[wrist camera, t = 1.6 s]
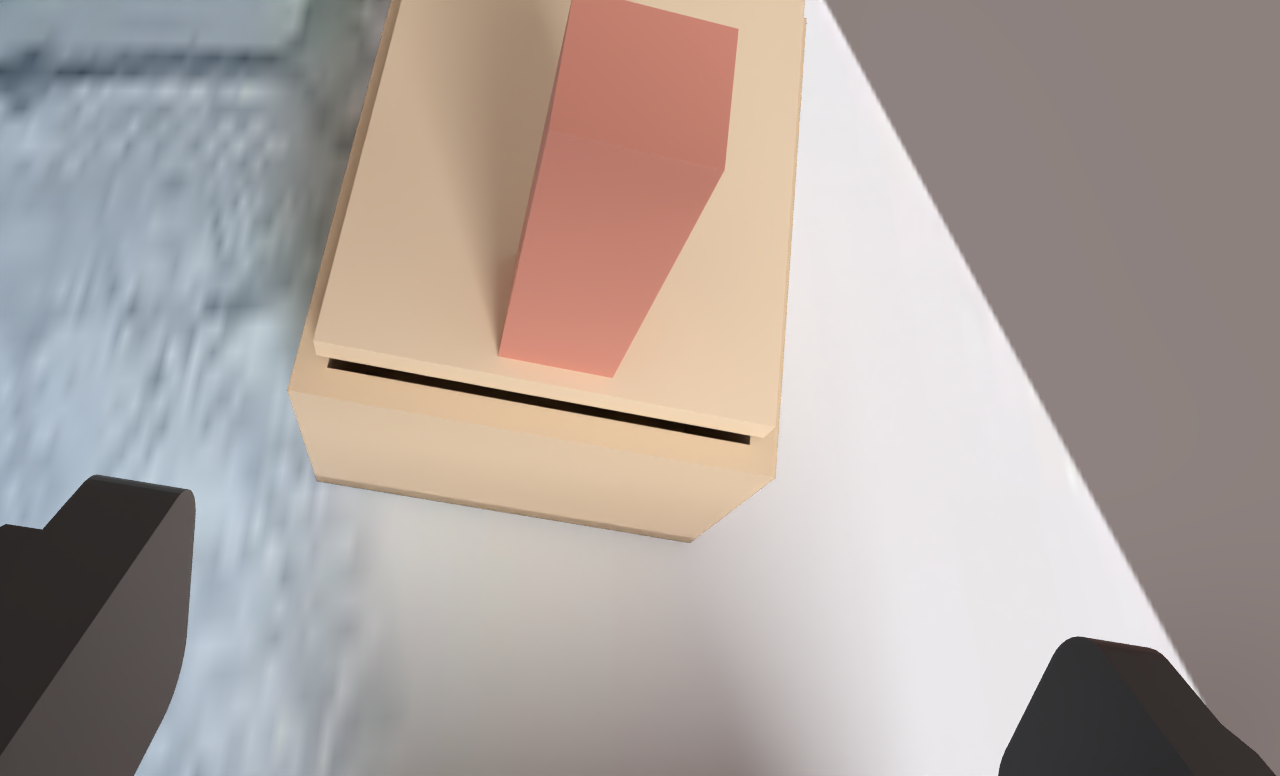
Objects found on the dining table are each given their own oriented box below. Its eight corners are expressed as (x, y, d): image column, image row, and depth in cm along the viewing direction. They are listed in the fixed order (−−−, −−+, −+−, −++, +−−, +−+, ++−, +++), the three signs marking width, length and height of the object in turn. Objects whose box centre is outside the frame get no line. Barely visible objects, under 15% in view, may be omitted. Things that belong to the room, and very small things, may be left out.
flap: (763, 437, 27) (970, 251, 17) (316, 355, 25) (256, 90, 15) (795, 0, 33) (965, -332, 23) (432, -93, 31) (443, -502, 21)
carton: (689, 543, 35) (775, 477, 27) (316, 481, 33) (287, 390, 25) (726, 165, 41) (806, 18, 33) (411, 93, 39) (413, -83, 31)
